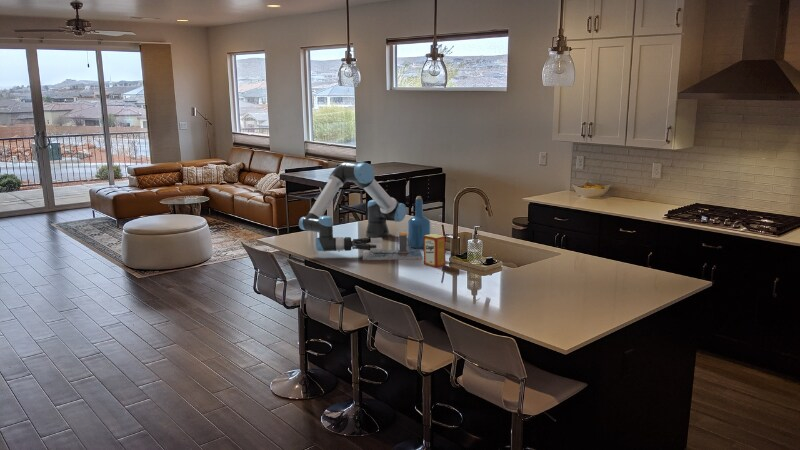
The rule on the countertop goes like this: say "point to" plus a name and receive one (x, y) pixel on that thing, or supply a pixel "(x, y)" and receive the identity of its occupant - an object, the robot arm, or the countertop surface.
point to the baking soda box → (434, 250)
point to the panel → (391, 254)
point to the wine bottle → (418, 226)
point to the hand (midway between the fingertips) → (382, 243)
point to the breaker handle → (403, 242)
